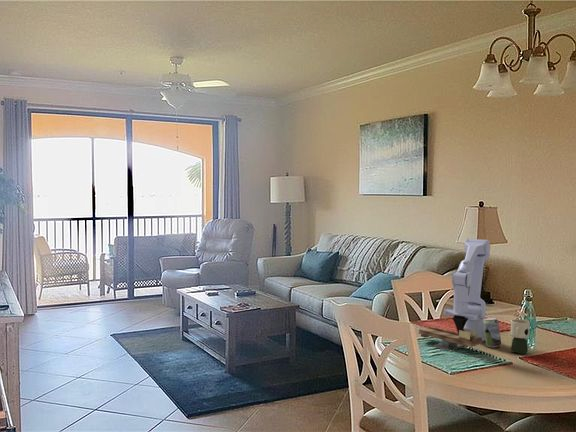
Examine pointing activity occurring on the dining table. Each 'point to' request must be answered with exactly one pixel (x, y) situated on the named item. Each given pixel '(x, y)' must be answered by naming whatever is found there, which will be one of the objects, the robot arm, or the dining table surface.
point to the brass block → (467, 334)
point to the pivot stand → (447, 345)
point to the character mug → (520, 335)
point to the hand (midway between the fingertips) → (460, 334)
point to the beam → (449, 336)
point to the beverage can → (492, 332)
